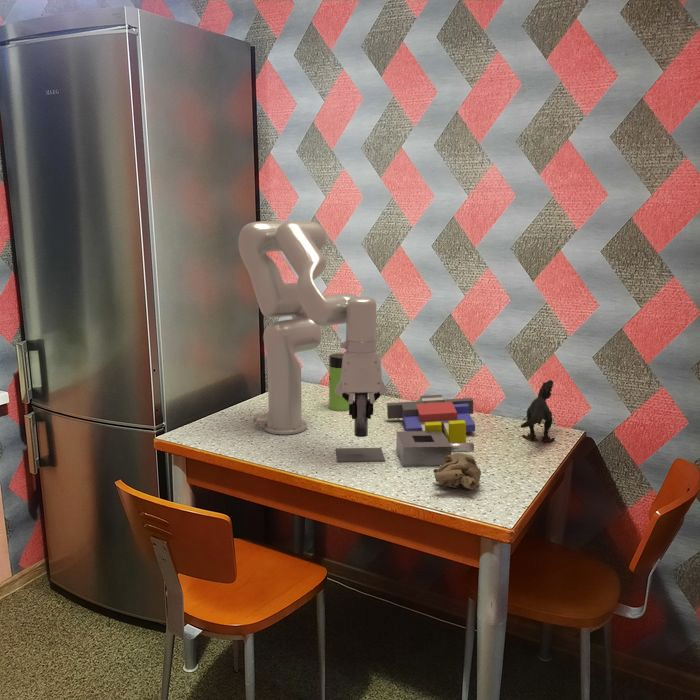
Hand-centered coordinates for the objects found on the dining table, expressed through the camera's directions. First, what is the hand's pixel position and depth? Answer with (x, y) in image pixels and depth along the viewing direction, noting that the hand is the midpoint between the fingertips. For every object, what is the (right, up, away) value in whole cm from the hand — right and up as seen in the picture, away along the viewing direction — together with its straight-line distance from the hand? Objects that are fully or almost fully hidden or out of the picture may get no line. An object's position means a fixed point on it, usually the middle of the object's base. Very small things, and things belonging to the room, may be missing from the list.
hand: (361, 417), depth 163 cm
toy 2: (+48, -8, +13) cm, 51 cm away
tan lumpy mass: (+22, -14, -16) cm, 31 cm away
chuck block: (+19, -10, +2) cm, 22 cm away
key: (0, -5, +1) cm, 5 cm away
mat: (0, -10, +2) cm, 10 cm away
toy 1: (+21, -6, +24) cm, 33 cm away
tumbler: (-6, -2, +44) cm, 45 cm away
